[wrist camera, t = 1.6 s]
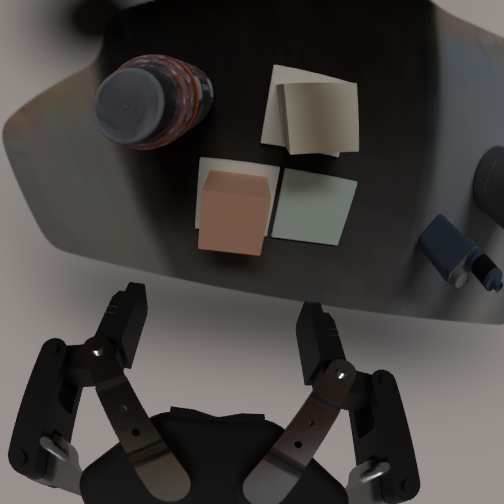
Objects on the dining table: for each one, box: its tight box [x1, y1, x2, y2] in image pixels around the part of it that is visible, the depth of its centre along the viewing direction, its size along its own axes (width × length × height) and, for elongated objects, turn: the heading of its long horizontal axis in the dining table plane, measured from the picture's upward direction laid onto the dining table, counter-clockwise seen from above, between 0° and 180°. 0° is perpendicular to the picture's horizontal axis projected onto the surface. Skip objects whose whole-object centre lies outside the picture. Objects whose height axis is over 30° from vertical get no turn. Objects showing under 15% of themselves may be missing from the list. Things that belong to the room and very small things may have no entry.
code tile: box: [195, 157, 280, 236], centre depth 25 cm, size 7×7×1 cm
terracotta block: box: [198, 170, 271, 256], centre depth 23 cm, size 5×5×5 cm
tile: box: [261, 65, 350, 157], centre depth 21 cm, size 7×7×1 cm
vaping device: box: [419, 214, 503, 292], centre depth 23 cm, size 3×5×12 cm, turn 146°
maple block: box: [276, 83, 359, 155], centre depth 19 cm, size 5×5×5 cm
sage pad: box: [271, 168, 357, 245], centre depth 26 cm, size 7×7×1 cm
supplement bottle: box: [93, 54, 214, 150], centre depth 16 cm, size 6×6×11 cm
